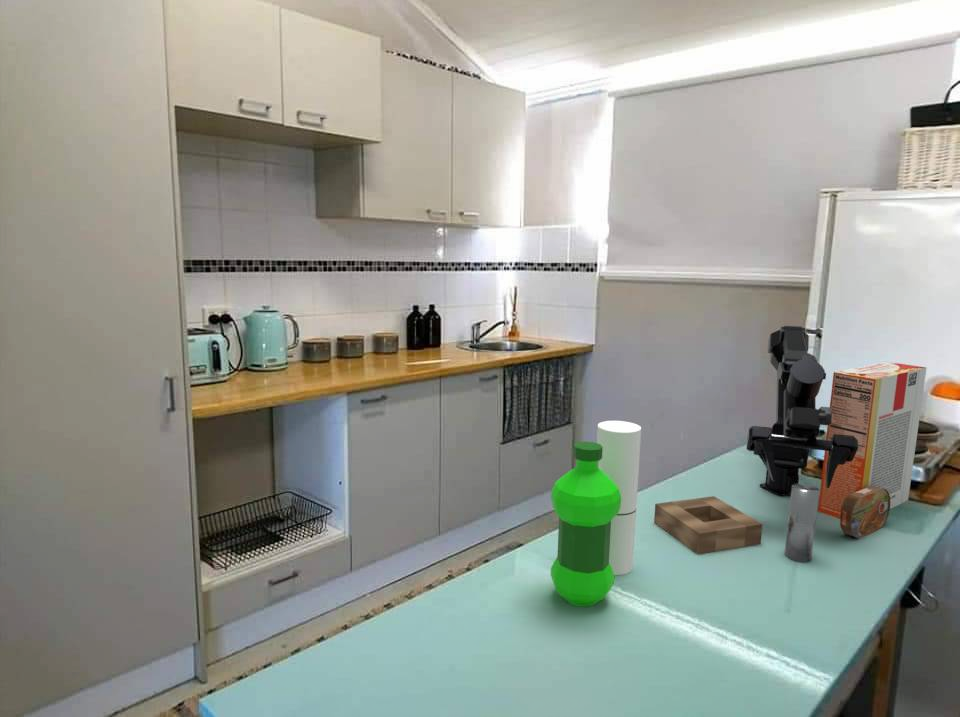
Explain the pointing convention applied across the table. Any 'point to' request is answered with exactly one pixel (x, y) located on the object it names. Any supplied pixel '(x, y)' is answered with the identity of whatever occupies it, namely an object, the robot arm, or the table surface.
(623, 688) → the table surface
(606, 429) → the cylindrical container
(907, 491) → the pasta box
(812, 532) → the grey glossy round cylinder
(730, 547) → the collar block
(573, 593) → the plastic bottle
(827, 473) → the robot arm
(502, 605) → the table surface
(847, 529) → the tin
